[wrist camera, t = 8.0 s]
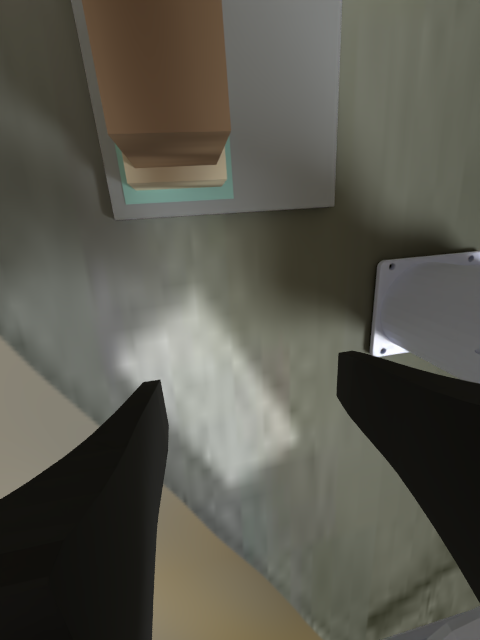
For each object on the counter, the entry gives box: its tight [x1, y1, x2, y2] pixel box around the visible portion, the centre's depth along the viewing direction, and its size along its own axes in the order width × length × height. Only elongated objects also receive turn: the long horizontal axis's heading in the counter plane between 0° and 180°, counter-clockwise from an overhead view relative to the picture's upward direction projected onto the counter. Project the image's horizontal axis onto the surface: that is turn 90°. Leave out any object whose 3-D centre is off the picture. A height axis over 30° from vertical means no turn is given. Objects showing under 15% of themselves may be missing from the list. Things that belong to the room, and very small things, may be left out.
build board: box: [71, 0, 342, 220], centre depth 15 cm, size 14×14×1 cm
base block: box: [122, 146, 227, 191], centre depth 14 cm, size 5×5×2 cm
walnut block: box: [82, 0, 231, 168], centre depth 11 cm, size 4×4×5 cm
